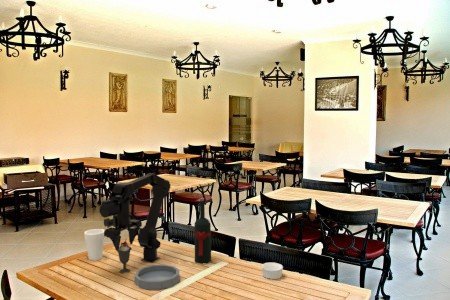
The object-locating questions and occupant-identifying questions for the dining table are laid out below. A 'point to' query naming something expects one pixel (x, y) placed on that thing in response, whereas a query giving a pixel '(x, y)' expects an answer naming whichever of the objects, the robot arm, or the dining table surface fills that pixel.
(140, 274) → the grey polygonal tray
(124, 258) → the sundae
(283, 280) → the dining table surface
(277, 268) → the ramekin
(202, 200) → the wine bottle
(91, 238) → the foam cup
